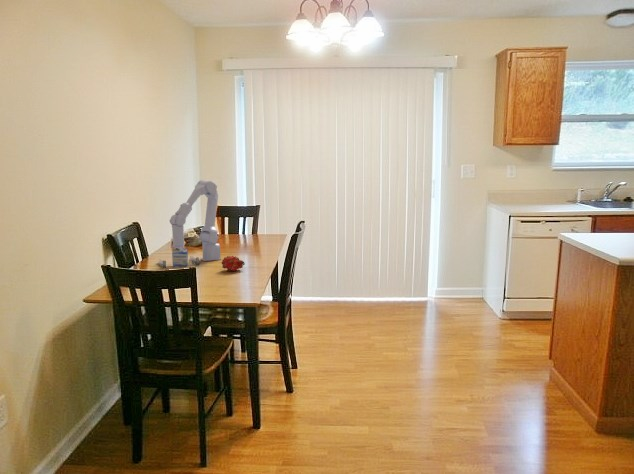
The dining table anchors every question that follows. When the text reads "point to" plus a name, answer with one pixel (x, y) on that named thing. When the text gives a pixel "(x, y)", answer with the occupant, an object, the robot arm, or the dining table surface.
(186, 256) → the medicine box
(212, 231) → the robot arm
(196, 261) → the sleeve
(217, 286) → the dining table surface
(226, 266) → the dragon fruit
